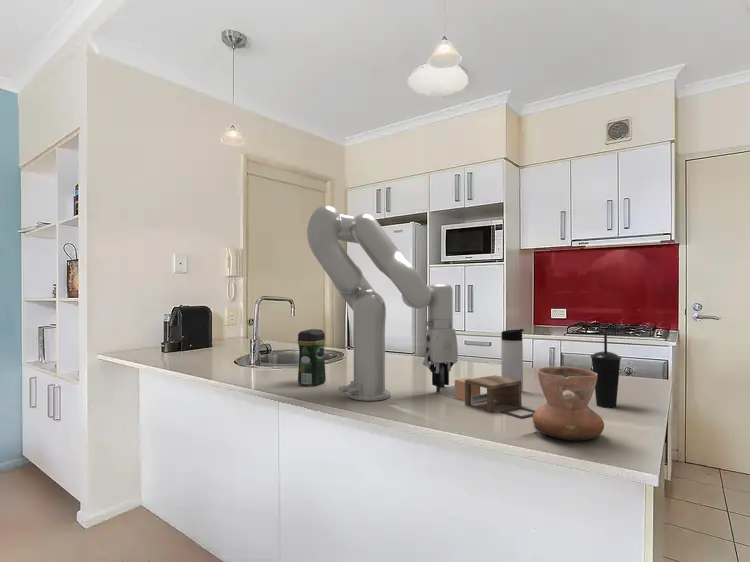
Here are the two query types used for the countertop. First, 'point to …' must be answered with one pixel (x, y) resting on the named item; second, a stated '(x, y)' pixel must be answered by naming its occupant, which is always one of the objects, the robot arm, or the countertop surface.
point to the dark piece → (518, 415)
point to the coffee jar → (311, 357)
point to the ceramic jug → (567, 404)
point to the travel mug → (512, 355)
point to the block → (461, 389)
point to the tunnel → (495, 391)
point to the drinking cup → (606, 376)
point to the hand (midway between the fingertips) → (440, 384)
